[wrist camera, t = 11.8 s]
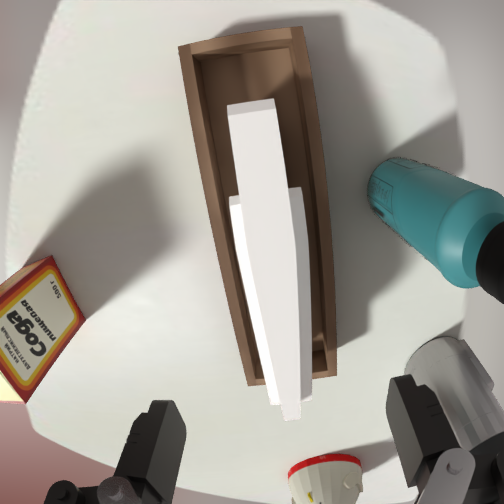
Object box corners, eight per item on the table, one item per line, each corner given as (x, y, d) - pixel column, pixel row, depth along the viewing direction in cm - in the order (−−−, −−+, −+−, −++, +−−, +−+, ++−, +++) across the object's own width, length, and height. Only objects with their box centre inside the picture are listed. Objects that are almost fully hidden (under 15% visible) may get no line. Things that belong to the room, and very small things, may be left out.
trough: (297, 38, 25) (302, 26, 21) (330, 351, 38) (336, 375, 34) (189, 56, 26) (177, 46, 22) (249, 361, 38) (247, 386, 35)
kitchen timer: (334, 445, 46) (345, 521, 32) (373, 465, 49) (386, 528, 35) (272, 473, 50) (272, 541, 36) (316, 491, 53) (321, 549, 40)
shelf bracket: (264, 354, 37) (260, 422, 25) (232, 135, 33) (209, 106, 20) (311, 349, 37) (324, 416, 24) (284, 127, 32) (290, 94, 20)
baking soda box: (85, 320, 37) (24, 406, 23) (54, 327, 38) (-6, 404, 24) (51, 255, 34) (-32, 326, 19) (21, 267, 35) (-55, 333, 20)
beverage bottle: (348, 199, 30) (452, 311, 12) (380, 140, 28) (526, 181, 10) (399, 228, 31) (514, 346, 13) (429, 174, 29) (575, 247, 10)
